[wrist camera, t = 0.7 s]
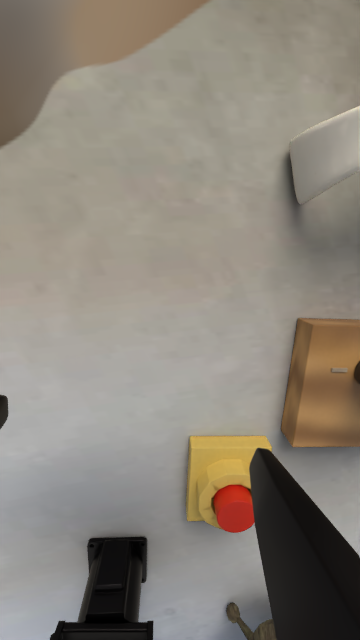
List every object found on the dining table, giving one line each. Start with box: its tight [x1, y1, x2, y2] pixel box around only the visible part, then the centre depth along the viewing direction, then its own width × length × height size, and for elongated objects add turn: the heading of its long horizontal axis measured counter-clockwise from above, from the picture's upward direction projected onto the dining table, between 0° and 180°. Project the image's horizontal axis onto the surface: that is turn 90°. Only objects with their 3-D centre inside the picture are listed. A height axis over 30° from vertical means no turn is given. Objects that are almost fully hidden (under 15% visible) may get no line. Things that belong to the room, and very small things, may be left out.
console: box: [281, 318, 360, 447], centre depth 23 cm, size 12×10×3 cm
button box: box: [186, 436, 272, 529], centre depth 25 cm, size 9×8×4 cm
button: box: [214, 484, 254, 533], centre depth 23 cm, size 4×4×2 cm
